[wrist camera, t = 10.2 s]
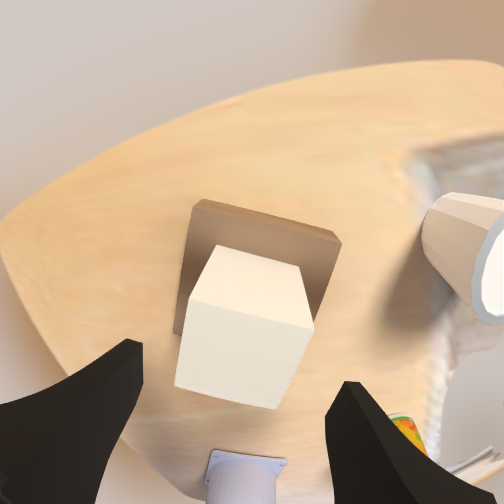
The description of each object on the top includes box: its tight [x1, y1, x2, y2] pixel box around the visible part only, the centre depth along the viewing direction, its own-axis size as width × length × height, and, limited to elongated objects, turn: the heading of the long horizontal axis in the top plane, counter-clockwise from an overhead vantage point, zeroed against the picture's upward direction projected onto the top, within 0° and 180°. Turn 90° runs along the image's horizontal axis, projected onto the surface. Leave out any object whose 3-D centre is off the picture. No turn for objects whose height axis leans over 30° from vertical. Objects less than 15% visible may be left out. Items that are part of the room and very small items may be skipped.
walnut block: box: [173, 199, 342, 335], centre depth 18 cm, size 8×8×3 cm
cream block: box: [174, 245, 315, 410], centre depth 14 cm, size 4×4×6 cm
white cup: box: [421, 192, 504, 325], centre depth 14 cm, size 7×7×7 cm
